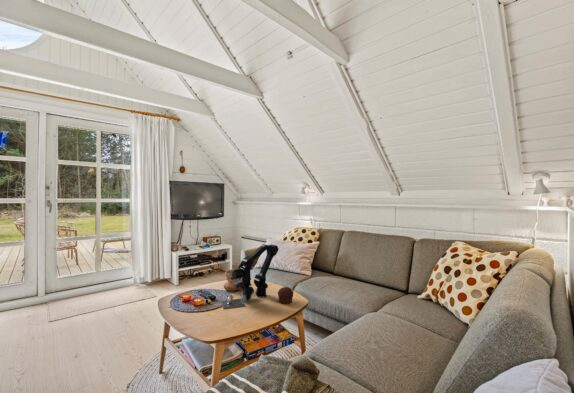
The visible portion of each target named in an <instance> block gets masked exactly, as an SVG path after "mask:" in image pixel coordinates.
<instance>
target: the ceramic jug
mask: <svg viewBox="0 0 574 393" xmlns="http://www.w3.org/2000/svg"><path fill="white" fill-rule="evenodd" d="M233 271H234V269H228V270H225V272H224V274H225V277H224V280H226V282H224V284H223V289H225V290H226V291H228V292H235V291H238V290H241V289H242V288H241V287H239V288H238V289H236V287H235V285H234V283H235V282H237V281H239V280H241V278H239V279H233V277H232V272H233Z"/></svg>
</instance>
